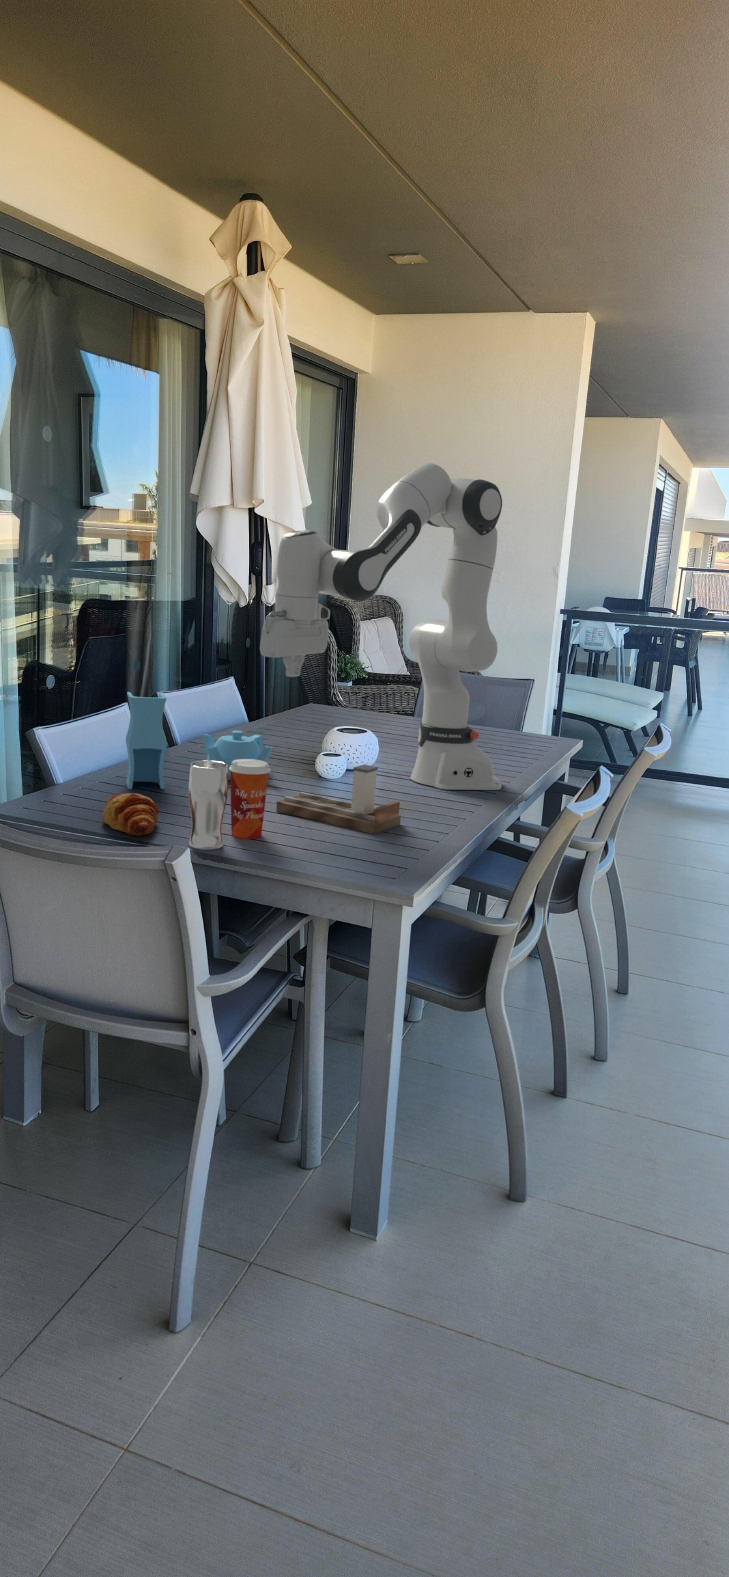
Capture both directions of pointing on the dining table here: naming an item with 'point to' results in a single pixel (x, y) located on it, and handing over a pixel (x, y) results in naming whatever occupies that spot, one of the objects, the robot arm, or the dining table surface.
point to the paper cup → (248, 797)
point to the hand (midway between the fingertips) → (292, 676)
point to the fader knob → (364, 789)
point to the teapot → (236, 748)
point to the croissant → (131, 813)
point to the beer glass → (207, 803)
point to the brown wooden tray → (341, 812)
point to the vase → (145, 740)
